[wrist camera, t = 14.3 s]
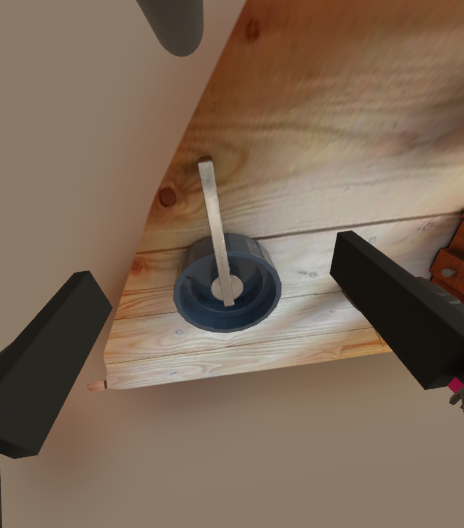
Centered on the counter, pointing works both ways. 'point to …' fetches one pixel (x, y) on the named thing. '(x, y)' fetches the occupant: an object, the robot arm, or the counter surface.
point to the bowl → (212, 309)
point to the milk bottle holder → (451, 266)
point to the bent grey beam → (218, 239)
